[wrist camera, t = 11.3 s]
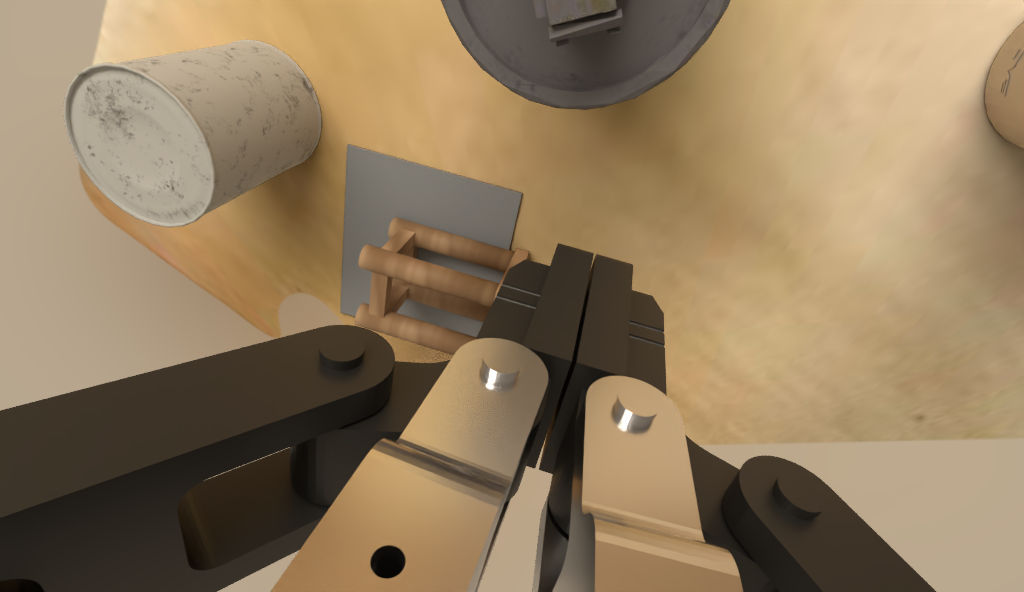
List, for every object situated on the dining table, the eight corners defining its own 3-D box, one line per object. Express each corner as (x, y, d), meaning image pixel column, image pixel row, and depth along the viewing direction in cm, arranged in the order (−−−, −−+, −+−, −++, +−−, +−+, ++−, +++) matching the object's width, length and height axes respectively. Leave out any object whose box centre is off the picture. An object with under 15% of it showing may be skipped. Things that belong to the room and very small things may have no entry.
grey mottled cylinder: (320, 54, 39) (202, 84, 29) (323, 180, 44) (223, 243, 34) (199, 26, 40) (42, 46, 30) (215, 153, 45) (86, 207, 35)
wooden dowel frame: (509, 295, 37) (359, 250, 38) (490, 372, 41) (354, 329, 42) (528, 251, 43) (398, 213, 44) (511, 321, 47) (390, 285, 48)
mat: (522, 193, 41) (521, 193, 41) (485, 355, 50) (484, 356, 49) (348, 144, 42) (347, 144, 42) (341, 311, 51) (340, 312, 51)
